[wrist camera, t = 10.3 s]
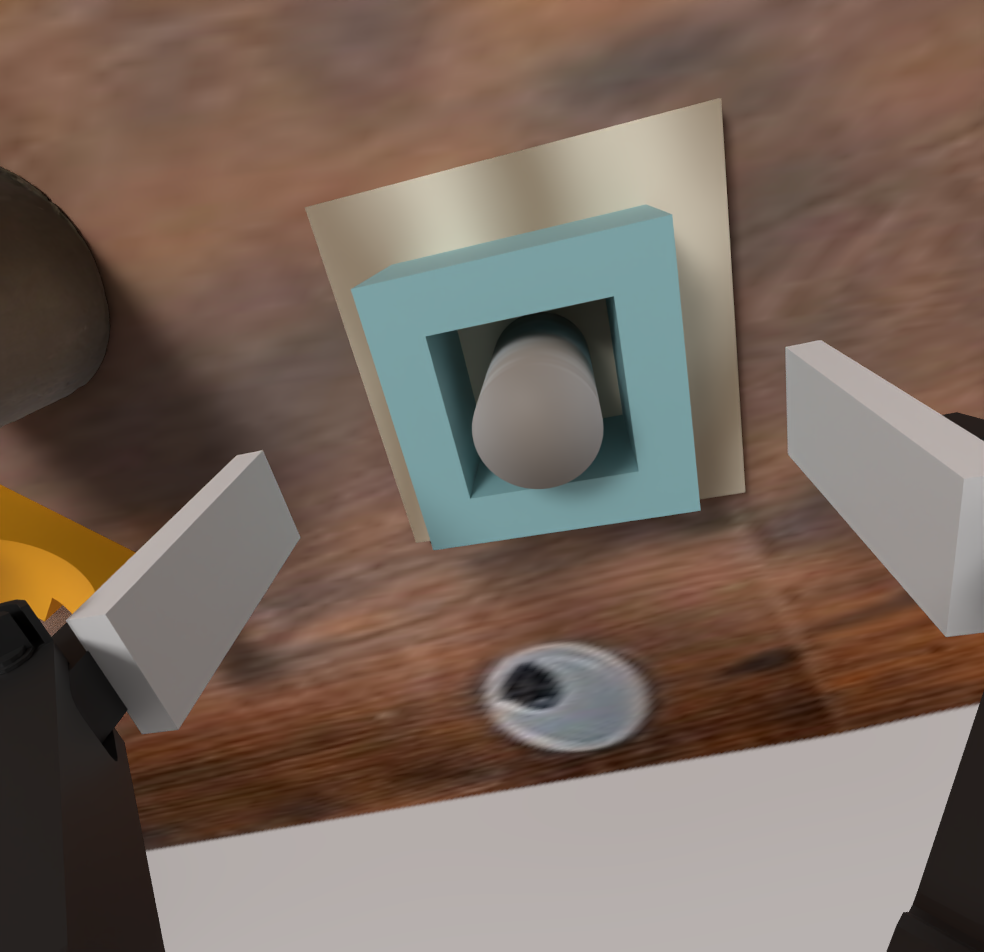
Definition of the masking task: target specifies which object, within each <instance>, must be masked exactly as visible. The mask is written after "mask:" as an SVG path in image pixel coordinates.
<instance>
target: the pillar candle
mask: <svg viewBox="0 0 984 952" xmlns="http://www.w3.org/2000/svg"><path fill="white" fill-rule="evenodd" d="M109 331H110V324H109V309H108V305H107V301H106V297H105V293H104V287H103V284H102V280H101V277H100V274H99V272H98V269H97V266H96V263H95V261H94V259H93V256H92V254H91V252H90V250H89V248H88V246H87V245H86V243H85V241H84V240H83V238H82V237H81V236H80V235H79V234H78V232H77V229H76V228H75V227H74V226H73V224H72V223H71V222H70V221H69V220H68V219H67V218H66V216H65V215H64V214H63V213H62V212H61V211H60V210H59V209H58V207H57V206H56V205H55V204H53V203H52V202H49V201H48V199H47V197H46V196H44V195H43V194H42V193H41V192H40V191H39V190H37V189H36V188H35V187H33V186H32V185H31V184H29V183H28V182H26V181H25V180H23V179H22V178H20V177H19V176H17V175H16V174H14V173H12V172H10V171H7V170H5V169H3V168H2V167H0V428H1V427H3V426H4V425H6V424H8V423H11V422H14V421H16V420H18V419H21V418H23V417H25V416H26V415H28V414H31V413H33V412H35V411H36V410H39V409H41V408H43V407H45V406H47V405H49V404H51V403H54V402H56V401H58V400H59V399H61V398H64V397H67V396H68V395H70V394H71V393H73V392H74V391H75V390H76V389H78V388H79V387H80V386H83V385H85V384H86V383H87V382H88V381H89V380H90V379H91V378H92V377H93V375H94V374H95V373H96V371H97V369H98V368H99V366H100V364H101V362H102V360H103V358H104V355H105V353H106V347H107V343H108V339H109Z"/></svg>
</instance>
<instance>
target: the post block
mask: <svg viewBox="0 0 984 952" xmlns="http://www.w3.org/2000/svg"><path fill="white" fill-rule="evenodd" d="M645 204H647V205H649V206H652V207H654V208H657V209H660V210H662V211H665V212H667V213H670V214H672V217H673V228H674V238H675V248H676V259H677V269H678V280H679V290H680V301H681V311H682V321H683V332H684V342H685V353H686V363H687V374H688V384H689V394H690V405H691V415H692V426H693V436H694V447H695V457H696V467H697V478H698V488H699V499H705V498H712V497H718V496H725V495H731V494H738V493H744V492H745V478H744V462H743V446H742V429H741V413H740V397H739V381H738V365H737V348H736V332H735V316H734V300H733V284H732V267H731V251H730V235H729V219H728V202H727V186H726V170H725V154H724V138H723V121H722V105H721V98H718V99H715V100H711V101H707V102H703V103H699V104H696V105H692V106H688V107H684V108H680V109H677V110H673V111H669V112H665V113H662V114H658V115H654V116H650V117H646V118H643V119H639V120H635V121H631V122H627V123H624V124H620V125H616V126H612V127H608V128H605V129H601V130H597V131H593V132H590V133H586V134H582V135H578V136H574V137H571V138H567V139H563V140H559V141H555V142H552V143H548V144H544V145H540V146H536V147H533V148H529V149H525V150H521V151H518V152H514V153H510V154H506V155H502V156H499V157H495V158H491V159H487V160H483V161H480V162H476V163H472V164H468V165H464V166H461V167H457V168H453V169H449V170H446V171H442V172H438V173H434V174H430V175H427V176H423V177H419V178H415V179H411V180H408V181H404V182H400V183H396V184H392V185H389V186H385V187H381V188H377V189H374V190H370V191H366V192H362V193H358V194H355V195H351V196H347V197H343V198H339V199H336V200H332V201H328V202H324V203H320V204H317V205H313V206H309V207H305V209H306V212H307V215H308V218H309V221H310V224H311V227H312V230H313V233H314V236H315V239H316V242H317V245H318V249H319V252H320V255H321V258H322V261H323V264H324V267H325V270H326V273H327V276H328V279H329V282H330V285H331V288H332V291H333V294H334V297H335V300H336V303H337V306H338V309H339V312H340V315H341V318H342V321H343V324H344V327H345V330H346V333H347V336H348V339H349V342H350V345H351V348H352V351H353V354H354V357H355V360H356V363H357V366H358V369H359V372H360V375H361V378H362V381H363V384H364V387H365V390H366V393H367V396H368V399H369V402H370V405H371V408H372V411H373V414H374V417H375V420H376V423H377V426H378V429H379V432H380V435H381V438H382V441H383V444H384V447H385V450H386V453H387V456H388V459H389V462H390V465H391V468H392V471H393V474H394V477H395V480H396V483H397V487H398V490H399V493H400V496H401V499H402V502H403V505H404V508H405V511H406V514H407V517H408V520H409V523H410V526H411V529H412V532H413V535H414V538H415V541H416V543H418V542H425V541H430V537H429V534H428V531H427V528H426V525H425V522H424V519H423V515H422V512H421V509H420V506H419V503H418V500H417V497H416V493H415V490H414V487H413V484H412V481H411V478H410V474H409V471H408V468H407V465H406V462H405V459H404V456H403V452H402V449H401V446H400V443H399V440H398V437H397V434H396V430H395V427H394V424H393V421H392V418H391V415H390V412H389V408H388V405H387V402H386V399H385V396H384V393H383V389H382V386H381V383H380V380H379V377H378V374H377V371H376V367H375V364H374V361H373V358H372V355H371V352H370V349H369V345H368V342H367V339H366V336H365V333H364V330H363V327H362V323H361V320H360V317H359V314H358V311H357V308H356V304H355V301H354V298H353V295H352V292H351V289H352V288H354V287H355V286H357V285H359V284H360V283H362V282H364V281H365V280H367V279H369V278H370V277H372V276H374V275H375V274H377V273H379V272H380V271H382V270H384V269H385V268H387V267H389V266H390V265H393V264H397V263H401V262H405V261H410V260H414V259H418V258H422V257H426V256H431V255H435V254H439V253H443V252H447V251H452V250H456V249H460V248H464V247H469V246H473V245H477V244H481V243H485V242H490V241H494V240H498V239H502V238H506V237H511V236H515V235H519V234H523V233H528V232H532V231H536V230H540V229H544V228H549V227H553V226H557V225H561V224H565V223H570V222H574V221H578V220H582V219H587V218H591V217H595V216H599V215H603V214H608V213H612V212H616V211H620V210H624V209H629V208H633V207H637V206H641V205H645ZM457 331H458V335H459V339H460V343H461V347H462V351H463V355H464V359H465V363H466V367H467V371H468V374H469V378H470V382H471V386H472V390H473V394H474V398H475V402H476V408H475V411H474V416H473V421H472V436H473V441H474V445H475V448H476V450H477V452H478V454H479V456H480V458H481V460H482V461H483V463H484V464H485V465H486V466H487V467H488V468H489V470H490V471H492V472H493V473H494V474H495V475H496V476H498V477H499V478H501V479H502V480H504V481H506V482H508V483H510V484H513V485H515V486H519V487H523V488H528V489H548V488H553V487H557V486H560V485H563V484H566V483H568V482H570V481H572V480H573V479H575V478H576V477H578V476H579V475H581V474H582V473H583V472H584V471H585V470H586V469H587V468H588V467H589V466H590V465H591V463H592V462H593V461H594V459H595V458H596V456H597V454H598V452H599V449H600V446H601V443H602V438H603V418H607V417H613V416H618V415H623V414H622V407H621V401H620V394H619V387H618V380H617V373H616V366H615V360H614V353H613V346H612V339H611V332H610V326H609V319H608V312H607V305H606V298H603V299H599V300H594V301H589V302H585V303H580V304H575V305H571V306H566V307H561V308H556V309H552V310H547V311H542V312H538V313H533V314H528V315H524V316H519V317H514V318H510V319H505V320H500V321H496V322H491V323H486V324H481V325H477V326H472V327H467V328H463V329H458V330H457Z"/></svg>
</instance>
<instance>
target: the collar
mask: <svg viewBox="0 0 984 952" xmlns="http://www.w3.org/2000/svg"><path fill="white" fill-rule="evenodd" d="M351 292H352V295H353V298H354V301H355V304H356V308H357V311H358V314H359V317H360V320H361V323H362V327H363V330H364V333H365V336H366V339H367V342H368V345H369V349H370V352H371V355H372V358H373V361H374V364H375V367H376V371H377V374H378V377H379V380H380V383H381V386H382V389H383V393H384V396H385V399H386V402H387V405H388V408H389V412H390V415H391V418H392V421H393V424H394V427H395V430H396V434H397V437H398V440H399V443H400V446H401V449H402V452H403V456H404V459H405V462H406V465H407V468H408V471H409V474H410V478H411V481H412V484H413V487H414V490H415V493H416V497H417V500H418V503H419V506H420V509H421V512H422V515H423V519H424V522H425V525H426V528H427V531H428V534H429V537H430V541H431V544H432V547H433V550H439V549H445V548H452V547H459V546H466V545H472V544H479V543H486V542H493V541H499V540H506V539H513V538H520V537H526V536H533V535H540V534H546V533H553V532H560V531H567V530H573V529H580V528H587V527H594V526H600V525H607V524H614V523H621V522H627V521H634V520H641V519H647V518H654V517H661V516H668V515H674V514H681V513H688V512H695V511H701V509H700V499H699V488H698V478H697V467H696V457H695V447H694V436H693V426H692V415H691V405H690V394H689V384H688V374H687V363H686V353H685V342H684V332H683V321H682V311H681V301H680V290H679V280H678V269H677V259H676V248H675V238H674V228H673V217H672V214H670V213H667V212H665V211H662V210H660V209H657V208H654V207H652V206H649V205H647V204H645V205H641V206H637V207H633V208H629V209H624V210H620V211H616V212H612V213H608V214H603V215H599V216H595V217H591V218H587V219H582V220H578V221H574V222H570V223H565V224H561V225H557V226H553V227H549V228H544V229H540V230H536V231H532V232H528V233H523V234H519V235H515V236H511V237H506V238H502V239H498V240H494V241H490V242H485V243H481V244H477V245H473V246H469V247H464V248H460V249H456V250H452V251H447V252H443V253H439V254H435V255H431V256H426V257H422V258H418V259H414V260H410V261H405V262H401V263H397V264H393V265H390V266H389V267H387V268H385V269H384V270H382V271H380V272H379V273H377V274H375V275H374V276H372V277H370V278H369V279H367V280H365V281H364V282H362V283H360V284H359V285H357V286H355V287H354V288H352V289H351ZM603 298H606V305H607V312H608V319H609V326H610V332H611V339H612V346H613V353H614V360H615V366H616V373H617V380H618V387H619V394H620V401H621V407H622V414H623V415H618V416H613V417H607V418H603V438H602V443H601V446H600V449H599V452H598V454H597V456H596V458H595V459H594V461H593V462H592V463H591V465H590V466H589V467H588V468H587V469H586V470H585V471H584V472H583V473H582V474H581V475H579V476H578V477H576V478H575V479H573V480H572V481H570V482H568V483H566V484H563V485H560V486H557V487H553V488H548V489H528V488H523V487H519V486H515V485H513V484H510V483H508V482H506V481H504V480H502V479H501V478H499V477H498V476H496V475H495V474H494V473H493V472H492V471H490V470H489V468H488V467H487V466H486V465H485V464H484V463H483V461H482V460H481V458H480V456H479V454H478V452H477V450H476V448H475V445H474V441H473V436H472V421H473V416H474V411H475V408H476V402H475V398H474V394H473V390H472V386H471V382H470V378H469V374H468V371H467V367H466V363H465V359H464V355H463V351H462V347H461V343H460V339H459V335H458V331H457V330H458V329H463V328H467V327H472V326H477V325H481V324H486V323H491V322H496V321H500V320H505V319H510V318H514V317H519V316H524V315H528V314H533V313H538V312H542V311H547V310H552V309H556V308H561V307H566V306H571V305H575V304H580V303H585V302H589V301H594V300H599V299H603Z"/></svg>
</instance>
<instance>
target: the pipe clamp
mask: <svg viewBox="0 0 984 952" xmlns="http://www.w3.org/2000/svg"><path fill="white" fill-rule="evenodd" d="M135 553H136V552H134V551H132V550H130V549H128V548H126V547H124V546H122V545H120V544H118V543H116V542H114V541H112V540H110V539H108V538H106V537H104V536H102V535H100V534H98V533H96V532H94V531H92V530H90V529H88V528H86V527H84V526H82V525H80V524H78V523H76V522H74V521H72V520H70V519H68V518H66V517H64V516H62V515H60V514H58V513H56V512H54V511H52V510H50V509H48V508H46V507H44V506H42V505H40V504H38V503H36V502H34V501H32V500H30V499H28V498H26V497H24V496H22V495H20V494H18V493H16V492H14V491H12V490H10V489H8V488H6V487H4V486H2V485H0V603H3V602H7V601H12V600H16V599H18V600H26V602H27V603H28V604H29V606H30V607H31V609H32V610H33V612H34V613H35V615H36V616H37V617H38V618H39V619H41V620H43V621H46V620H47V619H48V618H49V617H50V616H51V615H52V614H53V613H55V612H56V611H57V610H58V609H59V608H60V607H61V606H62V605H64V606H65V607H66V608H67V609H68V610H69V611H70V612H71V613H72V614H73V613H74V612H75V611H76V610H77V609H78V608H79V607H80V606H81V605H82V604H83V603H84V602H85V601H86V600H88V599H89V598H90V597H91V596H92V595H93V594H94V593H95V592H96V591H97V590H98V589H99V588H100V587H101V586H102V585H103V584H104V583H105V582H106V581H107V580H108V579H109V578H110V577H111V576H112V575H113V574H114V573H115V572H116V571H118V570H119V569H120V568H121V567H122V566H123V565H124V564H125V563H126V562H127V561H128V560H129V559H130V558H131V557H132V556H133V555H134V554H135Z"/></svg>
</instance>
